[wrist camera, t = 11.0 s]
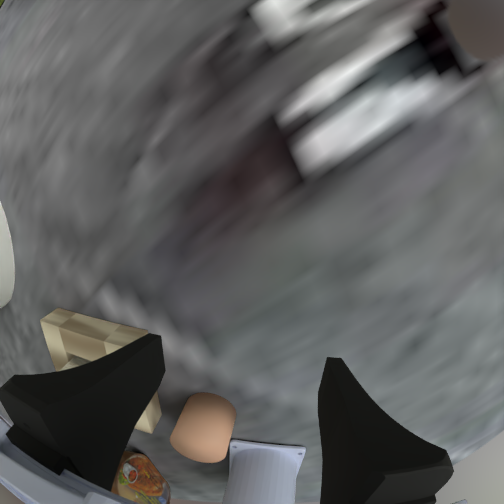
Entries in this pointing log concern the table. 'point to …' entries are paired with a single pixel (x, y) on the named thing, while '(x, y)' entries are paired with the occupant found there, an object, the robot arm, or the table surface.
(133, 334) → the bore block
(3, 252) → the cylinder
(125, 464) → the tin
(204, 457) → the round peg
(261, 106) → the table surface
